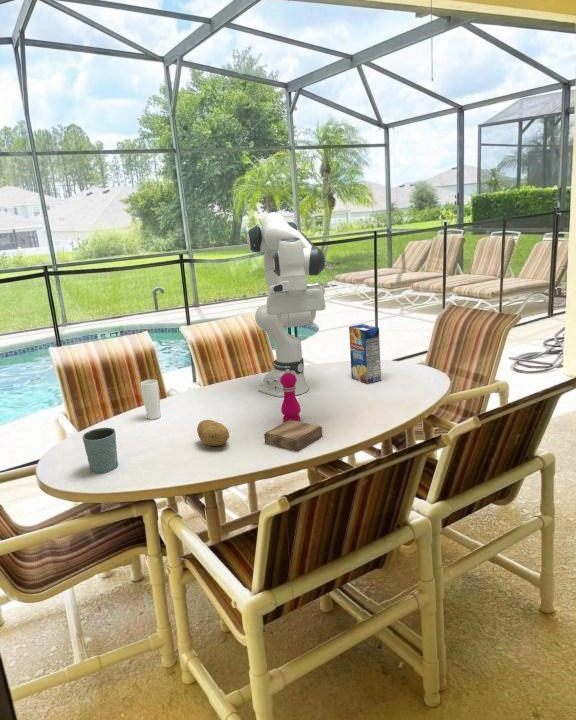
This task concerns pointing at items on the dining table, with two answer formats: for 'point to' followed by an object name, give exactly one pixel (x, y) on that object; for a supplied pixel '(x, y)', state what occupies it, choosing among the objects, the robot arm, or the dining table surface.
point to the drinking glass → (151, 398)
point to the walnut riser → (293, 435)
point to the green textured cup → (101, 450)
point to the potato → (212, 433)
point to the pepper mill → (289, 397)
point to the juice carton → (365, 353)
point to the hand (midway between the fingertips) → (297, 326)
